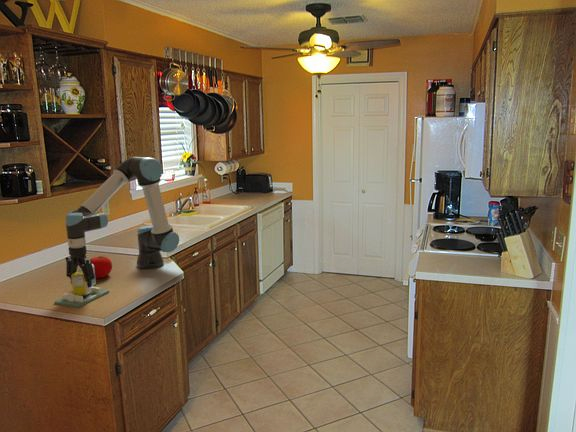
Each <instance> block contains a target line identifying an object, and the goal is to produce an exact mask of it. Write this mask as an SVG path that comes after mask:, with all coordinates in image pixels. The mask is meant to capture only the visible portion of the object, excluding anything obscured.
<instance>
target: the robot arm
mask: <svg viewBox="0 0 576 432" xmlns="http://www.w3.org/2000/svg"><path fill="white" fill-rule="evenodd" d="M163 172H164V171H163V166H162V164H161V163H160V161H159V160H157V159H156V158H154V157H145V156H132V157H129V158H126V159H125V160H124V161H122V162H121V163H120V164H119V165H117V167H116V168H115V169H113V171H112V174H111V175H110V176H109V177H108V178H107V179H106V180H105V181H104V182H103V183H102V184H101V185H100V186H99V187H98V189H96V190H95V191H94V192H93V193H92V194H91V195H90V196H89V197H88V198H87V199H86V200H85V201H84V202H83V203H82V204H81V205H80V206H79V207H78V208H77V209H73V210H70V211H69V212H68V214H66V215H65V217H64V218H65V220H64V221H65V229H66V230H65V231H66V237H67V245H68V254H69V256H67V257H65V261H66V278H69V279H70V284H71V289H72V291H73V287H72V279H71V275H72V274H73V273H75V272H76V271H78V267H80V268H81V269H82V272H83V274H84V276H85V279H86V281H85V288H86V294H89V293H91V292H92V291H91V286H92V284H91V280H92V279H94V278H95V277H94V272H93V267H92V259H91V258H87V255H86V254H87V252H88V251H87V246H86V245H87V244H86V243H87V241H86V234H85V233H86V232H90V231H96V230H101V229H103V228H106V227H107V226H108V224H109V219H108V216H107V214H106V213H104V212H98V211H99V210H100V209H101V208H102V207H103V206H104V205H105V204H106V203H107V202H108V201H109V200H110V199H111V198H112V197H113V196H114V195H115V194H116V192H118V191H119V190H120V189H121V188H122V187H123V186H124V185H125V184H128V183H129V182H130V181H131V180H135V179H136V180H137V185H138V186H139V187H141V188H142V191H143V195H144V196H143V197H144V200H145V202H146V207H147V210H148V214H149V218H150V222H151V225H144V226H140V227H139V228H138V229H137V234H136V236H137V242H138V243H137V245H138V255H137V260H136V267H137V268H138V269H143V270H144V269H145V270H148V269H149V270H150V269H156V268H160V267H162V266H164V263H165V261H164V258H163V256H162V253H172V252H174V251H175V250H176V249H177V248H178V245H179V244H180V236H179V234H178V233H176V232H174V230H173V225H171V224H169V220H168V217H167V213H166V209H165V205H164V199H163V197H162V192H161V188H160V183H161V178H162V175H163ZM161 252H162V253H161ZM82 265H83V266H82ZM88 277H89V278H88ZM95 279H96V278H95ZM92 287H93V286H92Z"/></svg>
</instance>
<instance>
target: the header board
mask: <svg viewBox="0 0 576 432" xmlns="http://www.w3.org/2000/svg"><path fill="white" fill-rule="evenodd" d="M91 291H92V292H91V293H89V294H88V295H87V296H79V295H74V294H73V292H72V293H71V292H69V293H66V292H65V293H62V297H61V298H59V299H57V300H55V301H54V304H55V305H60V306H64V307H65V306H67V307H72V308H76V309H78V308H81V307H82V306H84V305H85V306H86V305H87V304H89V303H90V302H92V301H95V300H96V299H99V298H101V297H102V296H103V297H104V296H105V295H107V294H109V293H110V290H108V289H102V288H101V286H100V287H98V286H95V285H94V286H92V287H91Z"/></svg>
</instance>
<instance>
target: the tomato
mask: <svg viewBox="0 0 576 432" xmlns="http://www.w3.org/2000/svg"><path fill="white" fill-rule="evenodd" d="M90 259H92V264H93V265H94V270H95V279H103V278H105V277H107V276H108V275H109V274H110V273H111V271H112V269H113V263H112V261H111V259H110V258H109V257H108V256H104V255H102V256H94V257H92V258H90Z"/></svg>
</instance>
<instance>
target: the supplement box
mask: <svg viewBox="0 0 576 432" xmlns="http://www.w3.org/2000/svg"><path fill="white" fill-rule="evenodd" d="M88 278H89V277H88ZM71 279H72V285H71V288H72V287H73V290H72V293H73V294H74V295H79V296H87V295H88V294H86V288H85V281H86V279H85V276H84V274H83V272H82V271H79V270H77V271H76V272H75V273H73V274H72V275H71ZM71 279H70V280H71Z"/></svg>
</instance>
